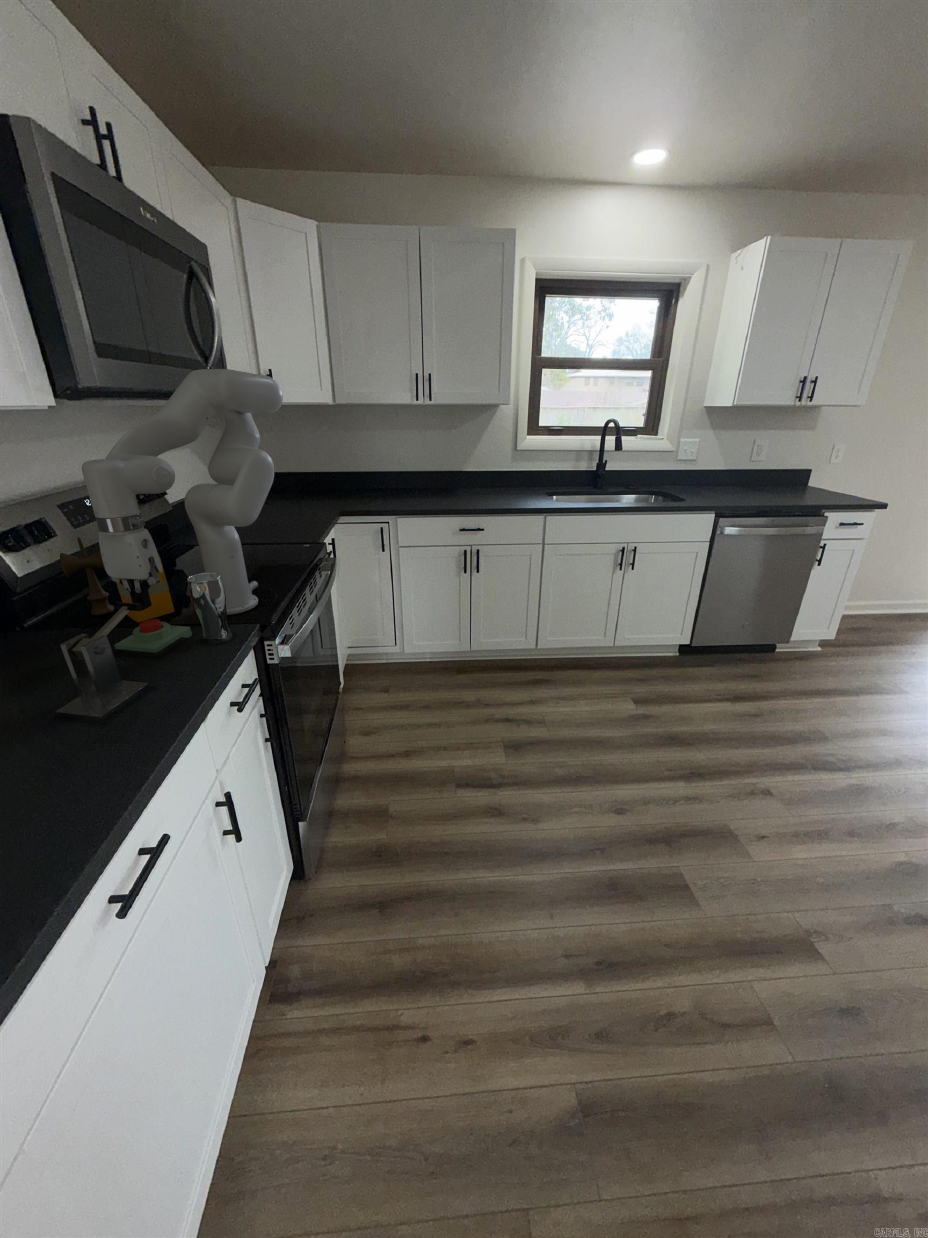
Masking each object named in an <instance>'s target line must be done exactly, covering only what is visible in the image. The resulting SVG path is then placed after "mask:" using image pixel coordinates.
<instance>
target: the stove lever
mask: <svg viewBox="0 0 928 1238" xmlns="http://www.w3.org/2000/svg"><path fill="white" fill-rule="evenodd" d="M113 607H114V610H117V612H116V613H115V614H113V616H112V617H110V619H109V620H108V621H107V622H105V624H104V625H102V627H100V629H99V630H98V631H97V632H96V633H95V634H94V635H93V636H92V637H90V638H89V639H86V638H83V639H82V640H81V641H80V642H79V643H78V644H77V645H76V646H75V647H74V648H73V649H72V651H73V652H74V653H75V654H76V655H77V656H78V657H79V659H83V660H85V658H84V655H83V653H82V650H81V646H82V645H84V644H86V643H88V642H90V641H92V640H94V639H96V638H98V637H100V636H102V635H105V636H108V635H109V634H110V633H111V631H112V630H113V629H114V628H115V627H116V626H117V625H118V624H119V623H120V622H121V621H122V620H123V619H124V618H125V617H126V616H127V615H126V614H127V613H128V612H129V611H141V610H142V609H143V606H142V604H137V603H125V602H122V601H115V602H113Z"/></svg>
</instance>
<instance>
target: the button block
mask: <svg viewBox="0 0 928 1238" xmlns="http://www.w3.org/2000/svg"><path fill="white" fill-rule="evenodd" d="M160 622H161V626H162V629H160V630H158V631H155V632H150V633H142V632H141V629H140V626H137V627H135V628H134V629H133V631H132V634H131V635H129V636H128V637H125V638H124V639H122V640H121V641H119V642H117V643H115V644H114V645H113V646H114V649H115V650H123V651H133V652H145V653H152V654H153V653H154V654H157V653H158V652H160V651H161V650H164V649H165V648H167V647H168V646H169V645H171V644H172V643H174V642H176V641H178V640H179V639H180V638H186V639H189V638H190V637H192V636H193V632H192V629H191V626H185V625H171V624H169V623H168V622H167V621H160Z"/></svg>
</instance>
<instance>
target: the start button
mask: <svg viewBox="0 0 928 1238" xmlns="http://www.w3.org/2000/svg"><path fill="white" fill-rule="evenodd" d="M161 622H162V621H161V620H160V619H157V618H152V619H148V620H145V621H141V622H139V626H140V629H141V632H142V633H150V632H155V631H158V630H160V629H162V626H161ZM139 626H138V627H139Z"/></svg>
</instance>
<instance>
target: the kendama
mask: <svg viewBox="0 0 928 1238" xmlns="http://www.w3.org/2000/svg"><path fill="white" fill-rule="evenodd" d="M77 543H78V547H79V550H80V553H81V554H80V555H81V556H74V555H71V554H68V553H65V552H60V553H59V560H60V564H61V568H62V570H63V573H64V575H65V576H66V577H67V578H72V577H73V576H74V575H75V574H76V573H78V572H80V571H81V570H84V569H85V571H86V572H85V573H86V577H87V582H88V589H89V593H88V595H87V597H86V599H87V600H88V601H89V602H90V603H91V610H90V614H91V615H92V616H105V615H108V614H111V613H113V612H114V611H115V609H114V605H112V604H110V602H109V599H108V598H109V595H110V594H109V592H107V591H105V590H104V589H103V587H102V586H101V584H100V582H99V580H98V578H97V575H96V573H95V572H94V570H93V568H96V569H97V568H98V569H103V570H105V567H104V564H103V560H102V556H101V551H100V550H98V551H97V552H95V553H94V554H91V555H88V554H87V551H86V548H85V545H84V543H83V540H82V539H81V537H80V536H77Z"/></svg>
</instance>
